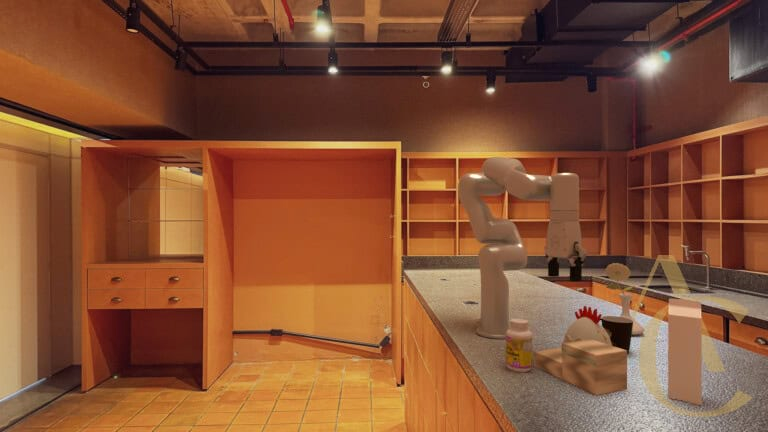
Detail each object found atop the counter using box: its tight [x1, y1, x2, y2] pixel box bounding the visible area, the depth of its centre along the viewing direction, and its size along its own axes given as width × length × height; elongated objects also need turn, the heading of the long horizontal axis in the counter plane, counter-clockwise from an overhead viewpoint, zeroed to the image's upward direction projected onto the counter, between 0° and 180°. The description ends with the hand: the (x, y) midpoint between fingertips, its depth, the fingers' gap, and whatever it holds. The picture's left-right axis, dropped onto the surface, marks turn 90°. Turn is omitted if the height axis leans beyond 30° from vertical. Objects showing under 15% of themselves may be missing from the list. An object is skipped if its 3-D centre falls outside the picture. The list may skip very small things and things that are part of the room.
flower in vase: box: [604, 262, 645, 336], centre depth 147 cm, size 13×11×25 cm
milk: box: [667, 298, 703, 406], centre depth 92 cm, size 6×6×22 cm
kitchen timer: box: [562, 305, 612, 346], centre depth 119 cm, size 14×14×15 cm
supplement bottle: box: [505, 318, 533, 373], centre depth 109 cm, size 7×7×13 cm
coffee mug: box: [598, 315, 633, 356], centre depth 126 cm, size 12×9×10 cm
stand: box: [532, 339, 628, 396], centre depth 104 cm, size 20×10×9 cm, turn 22°
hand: (564, 278), depth 114 cm, fingers open, 9 cm apart
